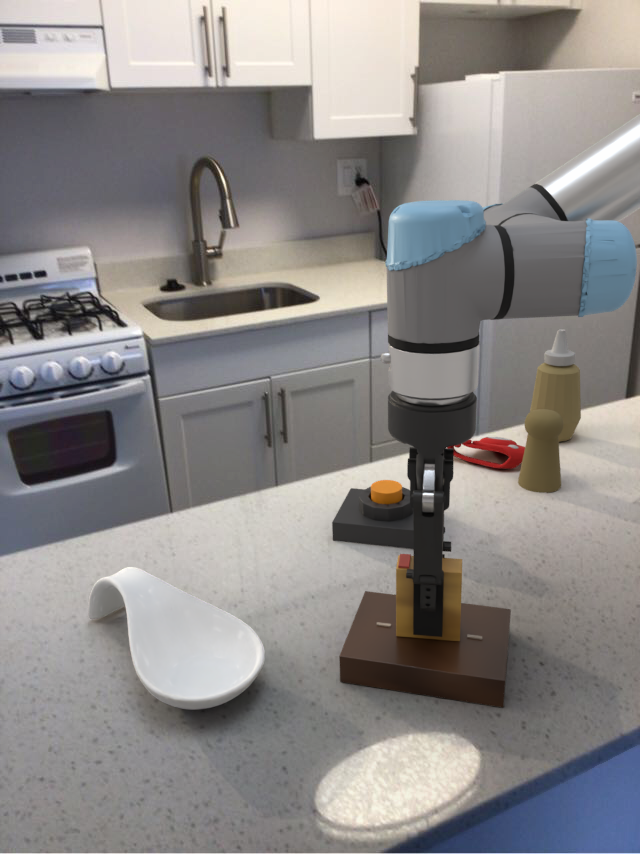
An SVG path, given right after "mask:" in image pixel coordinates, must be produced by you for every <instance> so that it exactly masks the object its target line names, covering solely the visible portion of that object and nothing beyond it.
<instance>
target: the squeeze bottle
mask: <svg viewBox="0 0 640 854" xmlns="http://www.w3.org/2000/svg"><path fill="white" fill-rule="evenodd" d="M543 358H544V359H543V361H544V362H542V363H541V364H539V365H538V366H537V369H536V376H535V381H534V387H533V392H532V397H531V403H530V409H529V413H530V412H531V411H534V410H539V409H546V410H552V411H555V412H557V413H559V414H560V415H561V417H562V419H563V429H562V432H561V433H560V435H559V436H558V441H559V443H560V442H567V441H569V440H571V439H572V438H573V436H574V433H575V431H576V430H577V428H578V425H579V423H580V421H581V419H582V411H581V410H582V408H581V407H582V405H581V404H582V403H581V399H582V398H581V369H580V367H579V366H578V365H577V364H575V363H576V362H575V361H576V353H575V351H573V350H570V349H569V345H568V339H567V330H566V329H565V328H564V329H562V328H560V329H557V331H556V334H555V337H554V341H553V344H552V347H551V349H546V351H544V356H543Z"/></svg>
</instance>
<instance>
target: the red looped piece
mask: <svg viewBox="0 0 640 854" xmlns="http://www.w3.org/2000/svg"><path fill="white" fill-rule="evenodd" d="M462 446H464V447H467V448H470V449H476V450H483V451H488V452H496V453H500V454H503V455H505V456H507V457H508V458H507V459H506V460H505V462H503V463H498V462H494V461H489V460H486V459H481V458H477V457H472V456H468V455H465V454H462V453H461V452H459V451H457V450H456V448H457V449H460V448H461V447H462ZM447 448H451V449H454V457H456V458H458V459H460V460H462V461H465V462H469V463H473V464H475V465H476V464H477V465H481V466H485V467H489V468H493V469H502V470H503V469H505V470H512V469H515V468H518V466H521V465H522V460H523V455H524V451H525V446H523V445H520V444H518V443H517V442H515V440H513V439H509V438H506V437H501V436H486V437H481V439H479V440H472V439H469V440H468V441H466V442H464V443H462V444H459V445H452V446H450V447H447Z"/></svg>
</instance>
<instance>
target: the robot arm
mask: <svg viewBox="0 0 640 854" xmlns="http://www.w3.org/2000/svg"><path fill="white" fill-rule="evenodd" d="M639 210H640V113H638V114H637V115H636V116H634V117H633V118H631V119H630V120H628V121H627V122H625V123H624V124H622V125H620V126H619V127H617V128H616V129H615V130H613V131H611V132H610V133H609V134H607V135H605V136H604V137H602V138H601V139H599V140H598V141H596V142H595V143H594V144H592V145H590V146H589V147H587V148H585V149H584V150H583V151H581V152H580V153H579V154H577V155H575V156H574V157H572V158H570V159H569V160H567V161H566V162H565V163H563V164H562V165H560V166H558V168H557V167H556V169H554V170H553V171H551V172H550V173H548V174H546V175H545V176H544V177H542V178H541V179H539V180H538V181H536V182H535V183H533V184H532V185H531V186H529V187H527V188H526V189H524V190H522V191H520V192H518V193H517V194H516V195H514V196H513V197H511V198H509V199H508V200H506V201H505V202H504V203H502V202H501V203H493V204H491V205H485V206H482V205H481V204H480V203H479V202H477V201H474V200H464V199H463V200H461V199H449V200H448V199H447V200H444V199H443V200H442V199H440V200H438V199H435V200H434V199H433V200H419V201H412V202H411V201H410V202H404V203H402V204H399V205H398V206H397V207H395V208H394V209H393V210H392V212H391V213H390V215H389V218H388V227H387V228H388V229H387V230H388V231H387V232H388V233H387V246H386V247H387V252H386V260H385V261H384V262H385V263H384V264H385V268H386V308H387V309H386V310H387V311H386V312H387V314H386V315H387V344H388V345H387V349H388V351H386V352H382V353H381V354H380V357H379V358H380V361H381V363H382V364H386V365H387V364H388V365H389V367H388V369H387V375H388V377H387V378H388V379H387V381H388V382H387V383H388V387H389V389H390V391H391V392H390V393H389V394H388V395H387V430H388V433H389V434H390V436H391V437H392V438H393V439H394V440H395V441H397V442H400V443H401V444H404V445H409V446H410V447H409V452H408V458H407V463H406V464H407V469H406V470H407V473H406V476H407V479H408V480H409V490H410V506H411V507H412V508H413V529H414V549H413V556H414V569H407V572H406V578H407V579H412V580H413V582H414V592H413V635H423V636H437V637H442V632H443V588H444V571H443V570H442V558H446V557H445V556H446V555H445V553H444V552H450V553H452V541H449V540H448V541H446V540H444V536H445V533H446V526H445V511H447V510H449V508H450V503H451V501H450V499H451V482H452V481H453V479H454V464H455V463H454V461H455V459H454V457H455V456H454V449H455V448H454V449H451V448H447V447H450V446H452V445H459V444H461V445H462V443H464V442H466V441H468V440H472V438H473V437H474V435H475V433H476V431H477V429H476V428H477V410H478V409H477V408H478V407H477V406H478V402H477V401H478V397H477V395H476V394H475V391H476V390H477V388H478V387H479V374H480V373H479V372H480V371H479V370H480V369H479V368H480V345H481V342H480V327H481V322H482V321H488V320H490V321H497V320H509V319H512V320H513V319H531V318H553V317H576V316H577V317H578V318H583V317H585V316H589V315H590V316H591V315H597V314H605V313H611V312H615V311H616V310H619V309H620V308H621V307H623V306H624V304H625V303H626V302H627V301H628V299H629V298H630V296H631V294H632V292H633V289H634V286H635V284H636V283H635V282H636V276H637V269H638V268H637V267H638V255H637V249H636V244H635V241H634V238H633V235H632V233H631V231H630V230H629V228H628V227H627V226H626V225H625V224H623V223H622V222H621V221H623V220H624V219H626V218H628V217H629V216H631V215H632V214H634V213H635V212H638V211H639Z"/></svg>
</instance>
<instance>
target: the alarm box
mask: <svg viewBox="0 0 640 854" xmlns="http://www.w3.org/2000/svg"><path fill="white" fill-rule="evenodd" d="M346 494H347V495H346V496H345V498H344V499H343V501H342V503H341V505H340V507H339V509H338V511H337V513H336V514H335V515H334V518H333V519H332V522H331V526H332V528H331V529H332V541H334V542H344V543H351V544H352V543H354V544H361V545H370V546H371V545H372V546H379V547H381V546H382V547H390V548H399V549H400V548H401V549H407V550H408V549H409V550H414V529H413V508H412V507H411V506H410V488H406V487H405V486H402V501H400V502H398V503H394V504H378V503H376V502H373V501H372V500H371V486H369V487H367V488H365V489H364V488H354V487H351V488H350V489H349V490H348V493H346Z"/></svg>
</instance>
